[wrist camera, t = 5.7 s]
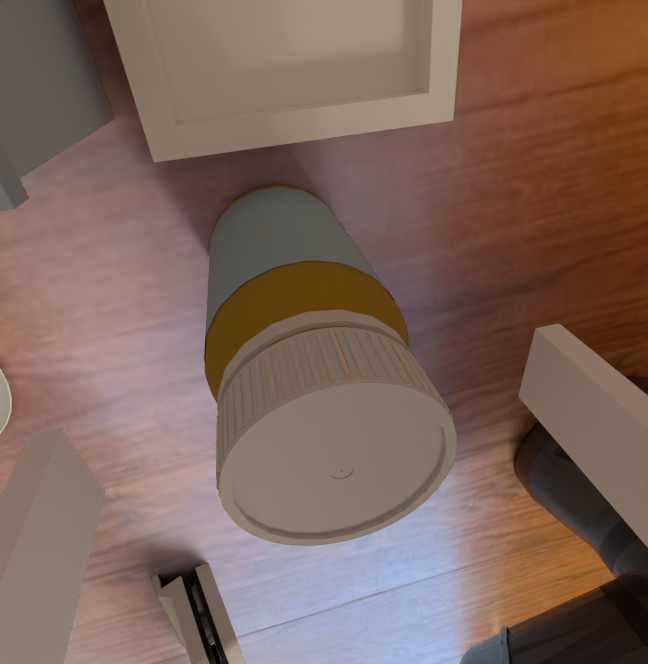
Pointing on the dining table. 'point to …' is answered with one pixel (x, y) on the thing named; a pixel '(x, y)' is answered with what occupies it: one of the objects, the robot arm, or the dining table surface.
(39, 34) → the storage box
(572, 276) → the dining table surface
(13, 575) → the robot arm
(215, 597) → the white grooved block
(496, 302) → the dining table surface
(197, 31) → the tray
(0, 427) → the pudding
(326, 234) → the bottle
